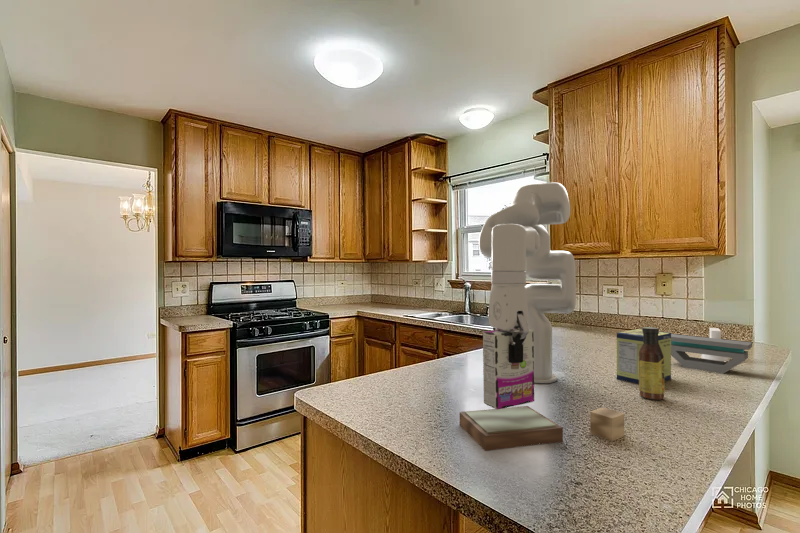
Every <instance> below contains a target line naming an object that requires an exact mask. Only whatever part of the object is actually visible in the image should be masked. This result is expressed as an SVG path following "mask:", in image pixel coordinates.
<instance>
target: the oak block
mask: <svg viewBox="0 0 800 533" xmlns="http://www.w3.org/2000/svg"><path fill="white" fill-rule="evenodd" d="M589 417H590V418H589V420H590V423H589V424H590V426H589V427H590V429H589V433H590V435H594V436H596V437H599V438H602V439H605V440H607V441H610V442H614V441H616V440H619V439H621V438H622V437H623V438H624V436H625V413H623V412H620V411H617V410H614V409H610V408H607V407H603V406H602V407H600V408H597V409H594V410H591V411H590V414H589Z"/></svg>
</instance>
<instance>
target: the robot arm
mask: <svg viewBox="0 0 800 533" xmlns="http://www.w3.org/2000/svg"><path fill="white" fill-rule="evenodd" d="M567 191H568V190H567V189H566V187H565V186H564V185H563V184H562V183H560V182H542V183H541V182H540V183H530V184H525V185H522V186H520V187H519V188H518V189H517V190H516V191H515V193H514V194H513V198H512V201H511V203H510V204H509V206H508V207H506V208H504V209H501V210H500V211H497V212H496V213H494V214H492V215H491V216H489V217H488V218H487V219H486V221H485V222H484V224H483V226H482V228H481V231H480V233H479V238H478V248H479V251H480V253H481V254H482V255H483V256H484V257H487V258H491V289H490V293H489V294H490V295H489V304H488V305H489V306H488V325H489V326H490V327H492V331H494V330H502V331H506V332H508V331H509V337H510V342H511V344H509V362H510V363H522V362H523V345H524V343H525V341H524V340H525V339H526V336H527V334H528V333H529V329H530V330H533V338H534V384H552V383H555V382H556V381H558V376H557V374H555V373H553V326H552V323H551V321H550V320H549V319H548V318H547V316H546V314H570V313H573V312H574V311H575V309H576V302H577V290H576V288H577V287H576V286H577V284H576V282H577V280H576V261H575V257H574V255H573V253H571V252H570V251H567V250H551V236H550V233H549V232H548V230H547V229H546V227H544V225H545V226H546V225H547V226H549V225H562V224H565V223H567V222H568V221H569V219H570V216H571V203H570V199H569V196H568V195H569V194H568V192H567ZM527 279H530V280H539V281H559V283H527ZM512 329H517V330H512ZM514 333H518V334H517V335H516V336H515V337H514Z"/></svg>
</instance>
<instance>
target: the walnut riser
mask: <svg viewBox="0 0 800 533" xmlns="http://www.w3.org/2000/svg"><path fill="white" fill-rule="evenodd" d="M459 426H460V427H461V428H462V429H463V430H464V431H465V432H466V433H467V434H468V435H469V436H470V437H471V438H472V439H473V440H474V441H475V442H476V443H477V444H478V445H479V447H481V448H482V449H483V450H484V451H485V452H487V451H495V450H503V449H511V448H518V447H519V448H521V447H529V446H538V445H547V444H555V443H556V444H557V443H563V442H564V428H563V426H561V425H559V424H557V423H556V422H555V421H552V419H550V418H548V417H546V416H545V415H543V414H541V413H540V412H539V411H537V410H535V409H534V408H532V407H530V405H529V406H528V405H524V406H521V405H520V406H512V407H507V408H502V409H495V408H492V409H491V408H490V409H489V408H488V409H478V410H467V411H459Z"/></svg>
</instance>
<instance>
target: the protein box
mask: <svg viewBox="0 0 800 533" xmlns="http://www.w3.org/2000/svg"><path fill="white" fill-rule="evenodd" d="M671 334H672V332H665V331H659V334H658V342H659V345H660V348H661V350H662V353H663V356H664V382H666V381H670V380H671V379H672V356H671ZM642 345H643V332H642V328H637V329H631V330H625V331H619V332H616V379H617V380H620V381H622V382H623V381H624V382H627V383H631V384H632V383H633V384H637V385H639V350H640V348H641V346H642Z"/></svg>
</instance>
